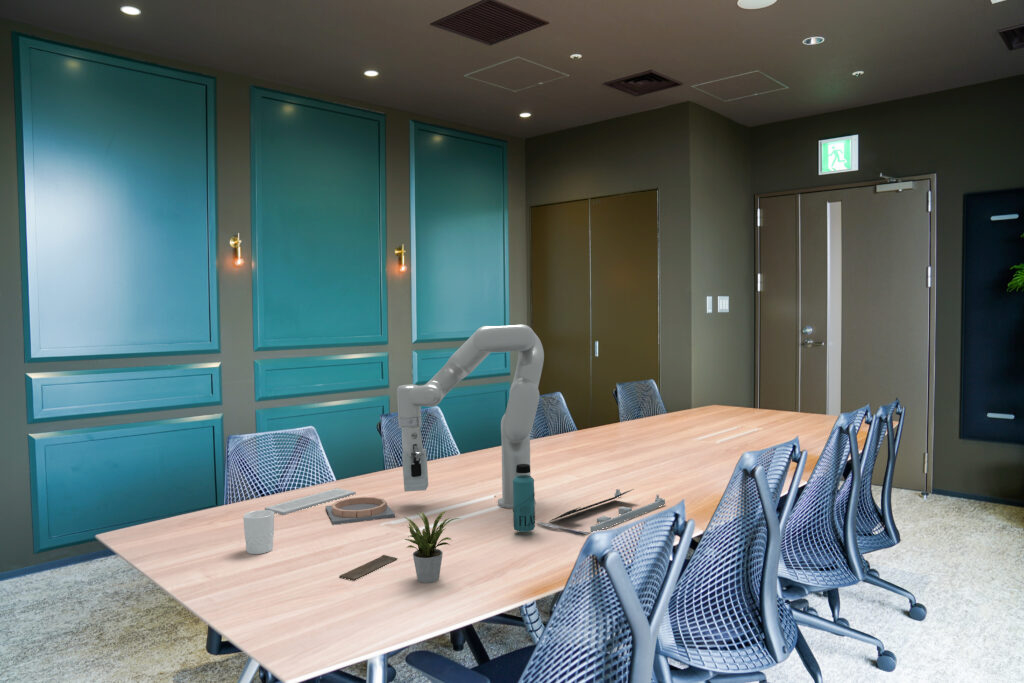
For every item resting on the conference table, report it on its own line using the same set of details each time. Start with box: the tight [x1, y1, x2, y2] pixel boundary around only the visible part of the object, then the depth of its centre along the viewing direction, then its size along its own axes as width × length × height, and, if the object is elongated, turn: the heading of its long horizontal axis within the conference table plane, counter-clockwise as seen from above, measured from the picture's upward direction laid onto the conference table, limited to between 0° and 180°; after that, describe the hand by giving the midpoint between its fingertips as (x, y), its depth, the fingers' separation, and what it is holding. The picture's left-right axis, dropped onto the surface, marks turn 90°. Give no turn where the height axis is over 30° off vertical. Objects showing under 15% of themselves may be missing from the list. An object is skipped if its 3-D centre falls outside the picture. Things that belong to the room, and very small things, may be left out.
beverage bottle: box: [512, 464, 536, 533], centre depth 196 cm, size 6×7×20 cm
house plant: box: [401, 510, 461, 584], centre depth 163 cm, size 14×14×16 cm
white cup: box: [242, 509, 275, 555], centre depth 185 cm, size 8×8×10 cm
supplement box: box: [401, 448, 429, 492], centre depth 226 cm, size 7×7×13 cm
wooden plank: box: [339, 554, 399, 581], centre depth 171 cm, size 17×1×5 cm
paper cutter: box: [537, 488, 666, 535], centre depth 213 cm, size 18×45×6 cm, turn 136°
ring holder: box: [325, 496, 396, 525], centre depth 220 cm, size 19×19×3 cm
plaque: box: [264, 487, 357, 516], centre depth 235 cm, size 30×2×10 cm
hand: (413, 473), depth 226 cm, fingers closed on supplement box, 9 cm apart
